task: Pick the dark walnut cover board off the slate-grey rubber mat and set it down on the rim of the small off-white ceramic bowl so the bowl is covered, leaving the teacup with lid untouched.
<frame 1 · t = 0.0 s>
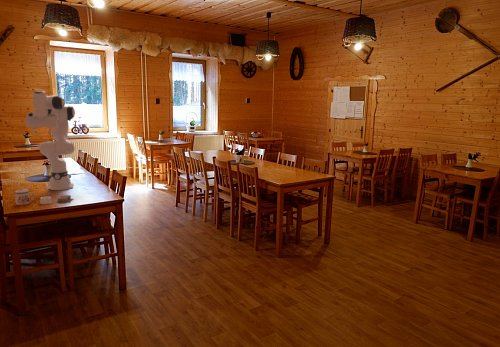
hand: (42, 133, 271), 48 cm above the table, fingers open, 8 cm apart
teacup with lid: (25, 203, 265), on the table
mat: (64, 202, 269), on the table
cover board: (64, 200, 269), point 1 cm above the table, touching mat
bowl: (46, 204, 263), on the table
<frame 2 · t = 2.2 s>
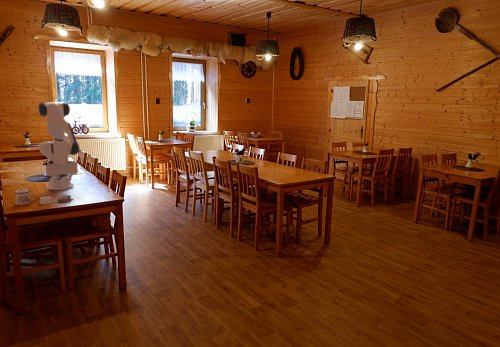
hand: (62, 180, 266), 16 cm above the table, fingers open, 8 cm apart
nothing on the table moved.
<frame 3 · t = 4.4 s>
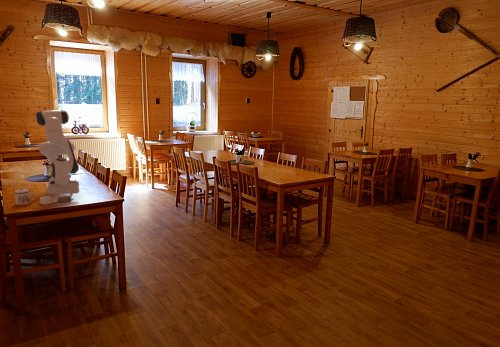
hand: (64, 199, 269), 2 cm above the table, fingers closed on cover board, 6 cm apart
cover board: (64, 200, 269), point 1 cm above the table, touching gripper, mat
everything else where it was.
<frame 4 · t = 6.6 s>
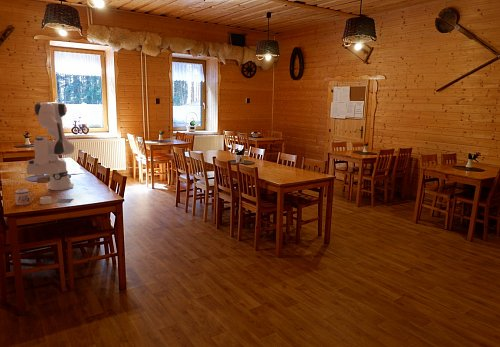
hand: (44, 180, 260), 17 cm above the table, fingers closed on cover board, 6 cm apart
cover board: (44, 181, 260), point 16 cm above the table, touching gripper
everything else where it was.
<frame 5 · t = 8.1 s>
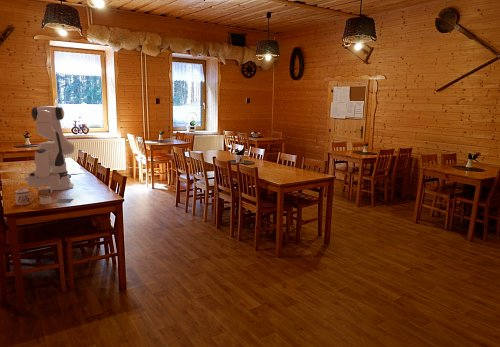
hand: (45, 192, 261), 9 cm above the table, fingers closed on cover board, 6 cm apart
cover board: (45, 193, 262), point 8 cm above the table, touching gripper
everything else where it was.
when the fingers open (7 cm above the table, at t = 9.3 s): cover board drops 1 cm, resting on bowl.
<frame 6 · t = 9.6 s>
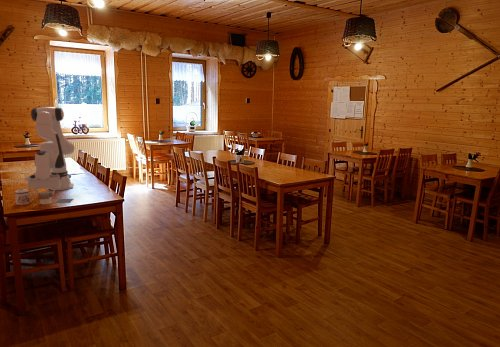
hand: (45, 194, 262), 7 cm above the table, fingers open, 8 cm apart
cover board: (45, 197, 262), point 5 cm above the table, touching bowl
everything else where it was.
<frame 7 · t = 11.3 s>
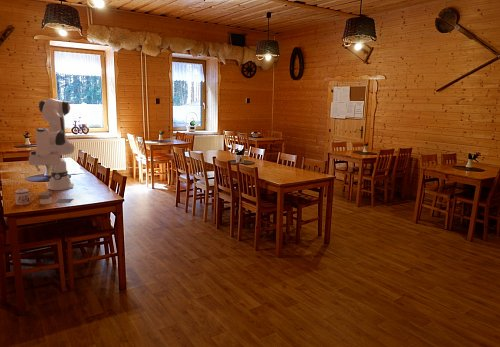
hand: (46, 171, 265), 23 cm above the table, fingers open, 8 cm apart
nothing on the table moved.
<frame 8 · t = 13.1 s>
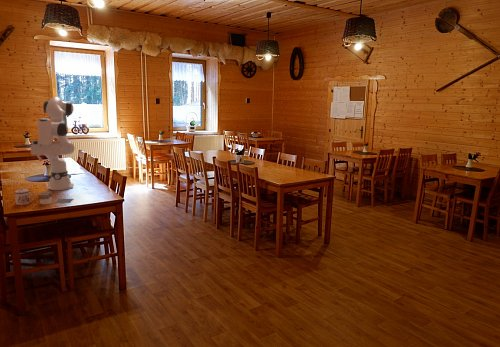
hand: (47, 160, 268), 29 cm above the table, fingers open, 8 cm apart
nothing on the table moved.
at the end: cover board 0.0 cm off-centre on the bowl, point 5.0 cm above the bowl's base; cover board tilted 0°; the gripper is holding nothing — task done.
